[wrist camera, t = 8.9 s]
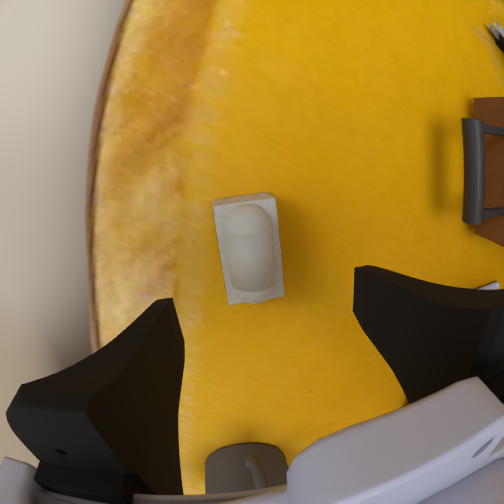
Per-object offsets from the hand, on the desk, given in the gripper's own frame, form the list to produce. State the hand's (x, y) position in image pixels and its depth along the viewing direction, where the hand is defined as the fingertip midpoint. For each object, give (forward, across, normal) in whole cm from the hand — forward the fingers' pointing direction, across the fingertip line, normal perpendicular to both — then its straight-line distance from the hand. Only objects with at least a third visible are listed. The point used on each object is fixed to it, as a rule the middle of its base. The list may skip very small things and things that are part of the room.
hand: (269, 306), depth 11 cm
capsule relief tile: (+8, 0, 0) cm, 8 cm away
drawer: (+7, -23, -4) cm, 25 cm away
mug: (+8, +3, +23) cm, 25 cm away
